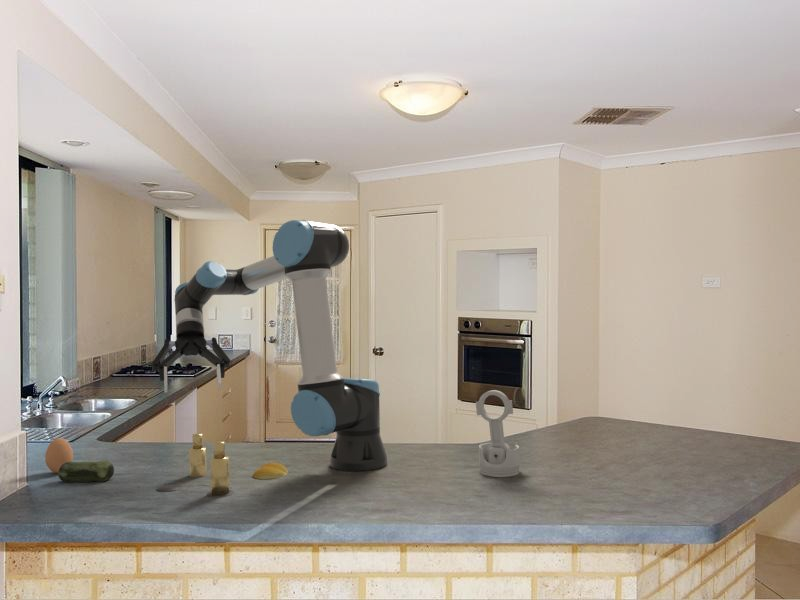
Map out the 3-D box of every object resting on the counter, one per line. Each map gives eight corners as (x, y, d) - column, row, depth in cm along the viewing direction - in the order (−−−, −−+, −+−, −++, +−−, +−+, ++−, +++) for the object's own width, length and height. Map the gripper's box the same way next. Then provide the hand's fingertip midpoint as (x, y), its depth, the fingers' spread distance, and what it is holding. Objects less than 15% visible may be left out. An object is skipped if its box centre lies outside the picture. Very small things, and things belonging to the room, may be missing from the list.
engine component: (513, 478, 166) (523, 468, 176) (511, 394, 166) (522, 388, 175) (470, 474, 171) (483, 465, 180) (469, 392, 171) (481, 387, 180)
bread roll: (248, 485, 166) (247, 468, 166) (262, 475, 175) (261, 459, 175) (280, 485, 165) (280, 469, 165) (293, 476, 173) (292, 460, 173)
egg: (62, 476, 177) (61, 441, 177) (39, 475, 178) (38, 440, 178) (79, 469, 184) (78, 435, 184) (57, 469, 185) (56, 435, 185)
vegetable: (117, 477, 175) (117, 458, 175) (109, 483, 170) (109, 463, 170) (62, 479, 175) (62, 459, 175) (52, 484, 170) (52, 464, 170)
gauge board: (254, 493, 158) (254, 487, 158) (223, 509, 147) (223, 502, 146) (169, 485, 166) (169, 480, 166) (133, 499, 155) (133, 493, 155)
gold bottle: (233, 491, 155) (232, 440, 155) (222, 496, 151) (221, 444, 151) (218, 490, 156) (217, 439, 156) (207, 495, 153) (206, 443, 153)
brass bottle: (210, 479, 172) (209, 433, 172) (200, 483, 168) (199, 436, 168) (196, 477, 173) (195, 432, 173) (186, 481, 169) (185, 435, 169)
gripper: (234, 335, 201) (240, 393, 187) (143, 338, 193) (142, 399, 179) (235, 318, 196) (242, 376, 182) (142, 320, 188) (142, 381, 174)
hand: (193, 387), depth 181 cm, fingers open, 13 cm apart
